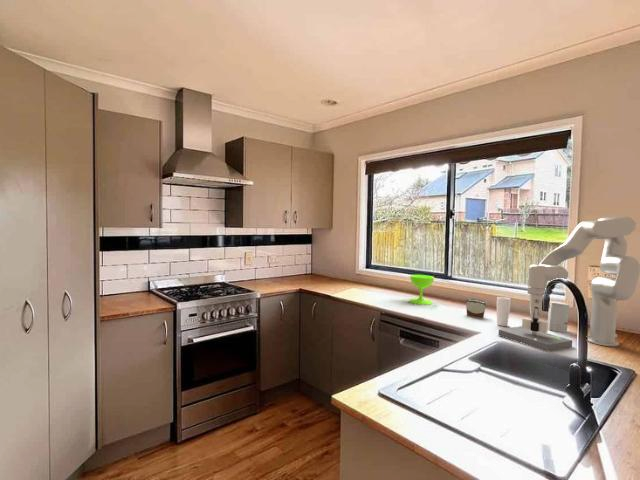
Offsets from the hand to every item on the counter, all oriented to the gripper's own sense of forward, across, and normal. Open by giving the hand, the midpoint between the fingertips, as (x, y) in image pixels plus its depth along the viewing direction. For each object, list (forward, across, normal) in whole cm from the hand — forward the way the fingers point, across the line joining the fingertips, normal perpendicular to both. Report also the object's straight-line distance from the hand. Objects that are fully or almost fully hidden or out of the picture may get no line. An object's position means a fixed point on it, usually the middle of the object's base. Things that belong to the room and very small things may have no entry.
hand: (534, 329), depth 170 cm
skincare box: (+6, +31, -12) cm, 33 cm away
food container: (+6, +36, +28) cm, 46 cm away
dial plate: (+5, 0, 0) cm, 5 cm away
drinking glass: (+6, +23, +14) cm, 27 cm away
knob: (+2, -1, -3) cm, 3 cm away
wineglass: (+6, +56, +65) cm, 86 cm away
